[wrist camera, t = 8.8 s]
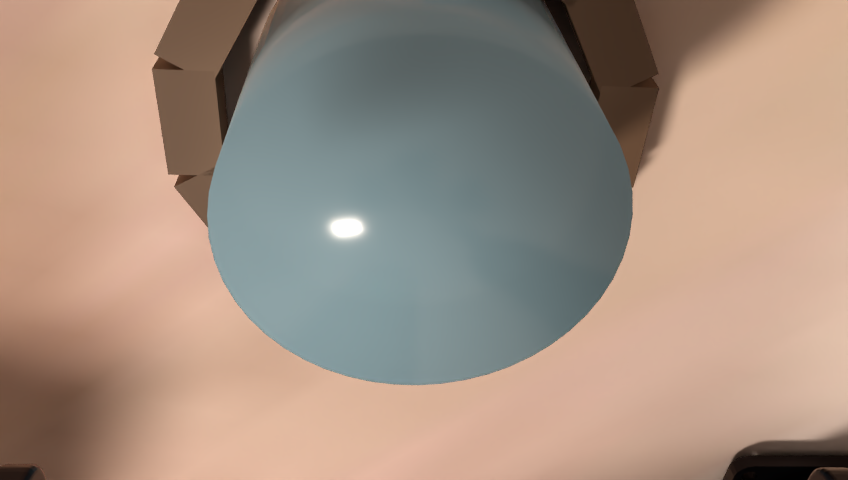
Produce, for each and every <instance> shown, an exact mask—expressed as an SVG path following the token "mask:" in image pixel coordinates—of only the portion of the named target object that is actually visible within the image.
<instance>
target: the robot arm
mask: <svg viewBox="0 0 848 480" xmlns="http://www.w3.org/2000/svg"><path fill="white" fill-rule="evenodd" d="M0 480H46V477H45V474H44V472H43V470H42V469H41V468H40V467H39V466H38V465H34V464H7V465H2V466H0ZM723 480H848V456H745V457H741V458H738V459H736V460H735V461H733V462H732V463H731V464H730V466H729V468H728V470H727V472H726V474H725V476H724V478H723Z"/></svg>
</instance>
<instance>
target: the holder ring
mask: <svg viewBox="0 0 848 480" xmlns="http://www.w3.org/2000/svg"><path fill="white" fill-rule="evenodd" d="M256 1H257V0H180V1H179V3H178V5H177V7H176V10H175V12H174V14H173V16H172V18H171V20H170V22H169V24H168V26H167V28H166V30H165V32H164V35H163V37H162V39H161V41H160V43H159V45H158V47H157V49H156V51H155V53H154V54H155V55H157V56H159V58H158V60H157V62H156V63H155V65H154V67H153V68H152V72H153V78H154V85H155V91H156V98H157V104H158V110H159V117H160V123H161V130H162V136H163V143H164V149H165V155H166V162H167V168H168V174H172V175H179V177H178V179H177V182H176V184H175V186H174V187H175V188H176V190H177V191H178V192H179V193H180V194H181V196H182V197H183V198H184V199H185V200H186V202H187V203H188V204H189V205H190V206H191V208H192V209H193V210H194V211H195V212H196V214H197V215H198V216H199V217H200V218H201V220H202V221H203V222H204V223H205V225H206V226H207V227H208V220H207V210H208V197H209V189H210V185H211V181H212V177H213V173H214V169H215V166H216V163H217V160H218V157H219V154H220V151H221V148H222V145H223V143H224V140H225V137H226V134H227V131H228V120H227V110H226V100H225V90H224V80H223V69H222V65H223V63H224V61H225V59H226V57H227V56H228V54H229V52H230V50H231V48H232V46H233V44H234V42H235V41H236V39H237V37H238V35H239V33H240V31H241V29H242V28H243V26H244V24H245V22H246V20H247V18H248V16H249V14H250V13H251V11H252V9H253V7H254V5H255V3H256ZM561 1H562V3H563V6H564V8H565V11H566V13H567V16H568V19H569V21H570V24H571V26H572V29H573V31H574V34H575V36H576V39H577V41H578V44H579V46H580V49H581V51H582V54H583V57H584V59H585V62H586V64H587V67H588V69H589V72H590V74H591V82H590V89H591V90H592V92H593V94H594V96H595V98H596V100H597V102H598V104H599V106H600V108H601V109H602V111H603V113H604V115H605V117H606V119H607V121H608V123H609V125H610V127H611V128H612V130H613V132H614V134H615V136H616V138H617V140H618V142H619V144H620V146H621V149H622V151H623V154H624V157H625V160H626V163H627V166H628V169H629V175H630V181H631V187H633V186H634V182H635V179H636V175H637V171H638V167H639V163H640V159H641V155H642V151H643V148H644V144H645V140H646V136H647V132H648V128H649V124H650V121H651V117H652V113H653V109H654V105H655V101H656V97H657V93H658V90H659V88H658V86H657V85H656V83H655V82H654V80H653V79H652V78H651V77H653V76H655V75H657V74H658V71H657V68H656V65H655V62H654V59H653V56H652V53H651V50H650V47H649V44H648V41H647V38H646V35H645V32H644V29H643V26H642V23H641V20H640V17H639V14H638V11H637V8H636V5H635V2H634V0H561Z"/></svg>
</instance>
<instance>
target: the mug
mask: <svg viewBox="0 0 848 480" xmlns="http://www.w3.org/2000/svg"><path fill="white" fill-rule="evenodd" d="M632 215H633V212H632V187H631V181H630V175H629V169H628V166H627V163H626V160H625V157H624V154H623V151H622V149H621V146H620V144H619V142H618V140H617V138H616V136H615V134H614V132H613V130H612V128H611V127H610V125H609V123H608V121H607V119H606V117H605V115H604V113H603V111H602V109H601V108H600V106H599V104H598V102H597V100H596V98H595V96H594V94H593V92H592V90H591V89H590V87H589V85H588V83H587V81H586V79H585V77H584V75H583V73H582V71H581V70H580V68H579V66H578V64H577V62H576V60H575V58H574V56H573V54H572V52H571V51H570V49H569V47H568V45H567V43H566V41H565V39H564V37H563V35H562V33H561V32H560V30H559V28H558V26H557V24H556V22H555V20H554V18H553V16H552V15H551V13H550V11H549V9H548V7H547V5H546V3H545V2H544V0H277V2H276V3H275V5H274V7H273V8H272V10H271V12H270V14H269V16H268V18H267V21H266V23H265V26H264V28H263V30H262V33H261V36H260V39H259V42H258V45H257V47H256V50H255V53H254V56H253V59H252V62H251V65H250V68H249V71H248V73H247V76H246V79H245V82H244V85H243V88H242V91H241V94H240V96H239V99H238V102H237V105H236V108H235V111H234V114H233V117H232V120H231V122H230V125H229V128H228V131H227V134H226V137H225V140H224V143H223V145H222V148H221V151H220V154H219V157H218V160H217V163H216V166H215V169H214V173H213V177H212V181H211V185H210V189H209V197H208V210H207V220H208V232H209V240H210V244H211V248H212V252H213V256H214V260H215V263H216V265H217V268H218V270H219V272H220V275H221V277H222V280H223V282H224V283H225V285H226V287H227V288H228V290H229V292H230V293H231V295H232V297H233V298H234V300H235V301H236V303H237V304H238V305H239V306H240V308H241V309H242V310H243V311H244V313H245V314H246V315H247V316H248V318H249V319H250V320H251V321H252V322H253V323H255V324H256V325H257V326H258V327H259V328H260V329H261V330H262V331H263V332H264V333H265V334H266V335H267V336H269V337H270V338H271V339H273V340H274V341H275V342H277V343H278V344H280V345H281V346H282V347H284V348H285V349H287V350H289V351H290V352H292V353H294V354H295V355H297V356H299V357H301V358H302V359H304V360H306V361H308V362H311V363H313V364H315V365H317V366H320V367H322V368H324V369H327V370H330V371H333V372H336V373H339V374H342V375H345V376H348V377H353V378H357V379H362V380H366V381H371V382H379V383H387V384H400V385H427V384H442V383H448V382H455V381H462V380H467V379H471V378H475V377H479V376H483V375H487V374H490V373H493V372H495V371H498V370H501V369H504V368H507V367H510V366H512V365H514V364H516V363H518V362H520V361H523V360H525V359H527V358H529V357H531V356H533V355H534V354H536V353H538V352H539V351H541V350H543V349H545V348H546V347H548V346H550V345H551V344H553V343H554V342H555V341H557V340H558V339H559V338H561V337H562V336H563V335H565V334H566V333H567V332H569V331H570V330H571V329H572V328H573V327H574V326H575V325H576V324H577V323H578V322H579V321H580V320H582V319H583V318H584V317H585V316H586V315H587V314H588V312H589V311H590V310H591V309H592V308H593V306H594V305H595V304H596V303H597V302H598V300H599V299H600V298H601V297H602V295H603V294H604V292H605V290H606V289H607V287H608V286H609V284H610V283H611V281H612V280H613V278H614V276H615V273H616V271H617V269H618V267H619V265H620V263H621V261H622V259H623V255H624V252H625V249H626V246H627V242H628V239H629V235H630V228H631V221H632Z"/></svg>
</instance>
